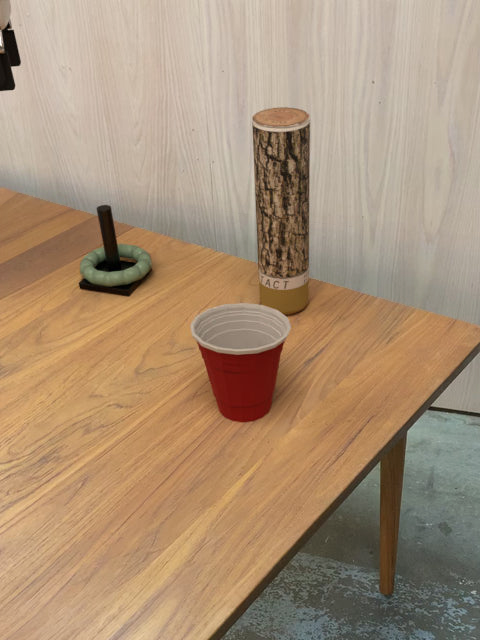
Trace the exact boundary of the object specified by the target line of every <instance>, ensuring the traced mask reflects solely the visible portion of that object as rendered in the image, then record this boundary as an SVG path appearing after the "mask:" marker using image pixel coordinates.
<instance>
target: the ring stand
mask: <svg viewBox="0 0 480 640" xmlns="http://www.w3.org/2000/svg"><path fill="white" fill-rule="evenodd" d="M96 214H97V219H98V224H99V231H100V234H101V241H102V247H103V246H104V252H105V257H106V261H103V262H101V263H98V264H97V265H96V266H95V267H94V268H95V269H96V270H99V271H105V272H114V271H123V270H125V269H128V268H130V267H133V266H135V265H136V264H137V263H138V262H137V261H129V260H124V259H121V258H120V256H119V250H118V244H119V243H118V239H117V234H116V227H115V222H114V217H113V209H112V206H111V205H110V204H102V205H99V206H97V207H96ZM151 272H153V267H152V268H151V270H150V271H149V272H148V273H147V274H146V275H145V276H144V277H143V278H142V279H139V280H137V281H135V282H132V283H130V284H127V285H119V286H111V287H108V286H102V285H96V284H92V283H91V282H89V281H88V280H86V279H85V278H84V277H82V279H81V280H80V281H79V282H78V287H79V290H84V291H90V292H98V293H104V294H111V295H117V296H124V297H131V295H132V294H133V293H134V292H135V291H136V289H137V288H138V287H139V286H140V285H141V284H142V283H143V281H145V280H146V278H147V277H148V276H149V275H150V274H151Z"/></svg>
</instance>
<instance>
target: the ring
mask: <svg viewBox="0 0 480 640" xmlns="http://www.w3.org/2000/svg"><path fill="white" fill-rule="evenodd" d="M117 244H118V250H119V256H120V259H122V258H123V259H129V260H134V261H135V262H138V263H137V264H136V265H135V266H133V267H130V268H128V269H125V270H123V271H114V272H105V271H99V270H96V269H95V268H94V267H95V266H96V265H97V264H98V263H101V262H103V261H106V257H105V252H104V246H103V245H102V246H100V247H98V248H95V249H92V250H90V251H89V252H88V253H87V254H85V256H83V257H82V258H81V260H80V262H79V273H80V276H81V277H82V278H85V279H86V280H88V281H89V282H91V283H92V284H96V285H102V286H108V287H111V286H119V285H127V284H130V283H132V282H135V281H137V280H139V279H142V278H143V277H144V276H145V275H146V274H147V273H148V272H149V271H150V270H151V268H152V269H153V263H152V262H153V261H152V256H151V254H150V252H149V251H147V250H145V249H144V248H142V247H140V246H138V245H135V244H134V245H133V244H126V243H117Z"/></svg>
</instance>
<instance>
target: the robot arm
mask: <svg viewBox="0 0 480 640" xmlns="http://www.w3.org/2000/svg"><path fill="white" fill-rule="evenodd" d="M11 14H12V5H11V0H0V92H7V91H14V90H16V82H15V78H14V73H13V70H12V68H14V67H20V66H21V64H22V61H21V55H20V51H19V46H18V42H17V39H16V33H15V29H13V26H12V25H13V24H12V21H11V20H12V19H11Z"/></svg>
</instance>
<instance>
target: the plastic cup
mask: <svg viewBox="0 0 480 640" xmlns="http://www.w3.org/2000/svg"><path fill="white" fill-rule="evenodd" d="M291 329H292V325H291V321H290V320H289V317H287V315H283V314H282V313H281V312H279V311H278V310H276V309H273V308H270V307H267V306H264V305H261V304H256V303H249V302H248V303H247V302H238V303H237V302H236V303H225V304H221V305H217V306H214V307H210V308H207V309H205V310H204V311H202V312H201V313H198V314H197V315H195V317H194V318H193V320H192V321H191V323H190V332H191V336H192V339H193V340H195V342H196V344H197V346H198V349H199V351H200V354H201V358H202V359H203V363H204V366H205V370H206V372H207V377H208V380H209V383H210V387H211V389H212V390H211V391H212V394H213V396H214V398H215V401H216V405H217V407H218V411H219V413H220V414H221V415H222V417H224V419H227V420H229V421H232V422H236V423H250V422H255V421H257V420H260V419H263V418H264V417H265V416H266V415H268V414H269V413H270V410H271V408H272V404H273V403H272V402H273V397H274V391H275V389H276V384H277V377H278V372H279V368H280V362H281V361H280V360H281V355H282V352H283V349H284V345H285V342H286V341H287V338H288V337H289V334H290V332H291Z"/></svg>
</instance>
